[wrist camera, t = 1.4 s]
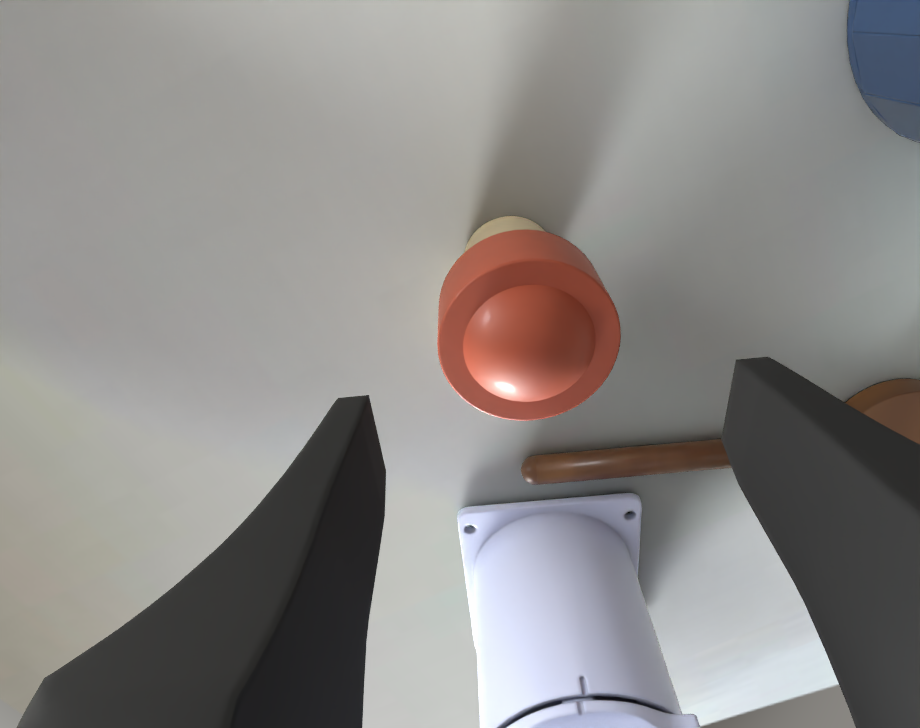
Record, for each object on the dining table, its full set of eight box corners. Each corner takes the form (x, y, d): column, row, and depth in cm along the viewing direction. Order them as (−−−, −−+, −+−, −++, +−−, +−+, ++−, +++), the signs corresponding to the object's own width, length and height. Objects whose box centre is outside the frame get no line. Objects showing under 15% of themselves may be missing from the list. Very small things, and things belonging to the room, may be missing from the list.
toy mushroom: (577, 315, 23) (628, 434, 17) (448, 328, 23) (448, 450, 17) (576, 184, 21) (634, 264, 14) (432, 199, 21) (424, 285, 14)
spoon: (964, 372, 24) (987, 388, 23) (929, 471, 27) (949, 490, 26) (516, 413, 25) (519, 430, 24) (522, 506, 28) (525, 526, 27)
